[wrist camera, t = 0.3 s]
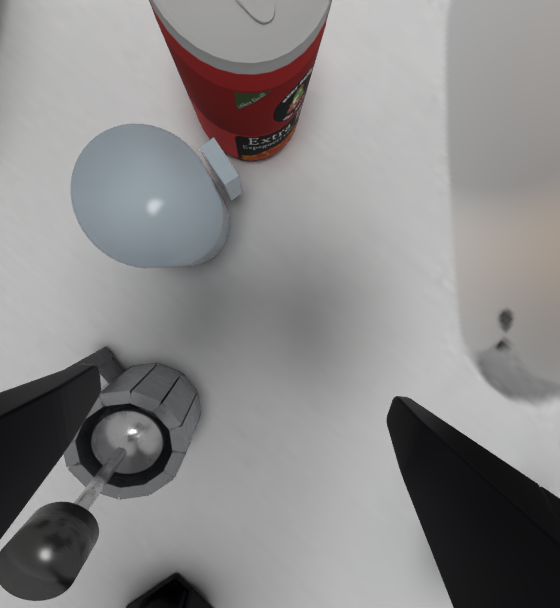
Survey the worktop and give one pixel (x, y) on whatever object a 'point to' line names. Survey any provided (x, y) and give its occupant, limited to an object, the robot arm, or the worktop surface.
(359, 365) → the worktop surface
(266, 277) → the worktop surface
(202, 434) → the worktop surface
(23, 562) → the plunger
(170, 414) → the press carafe
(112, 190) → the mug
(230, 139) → the canned food
